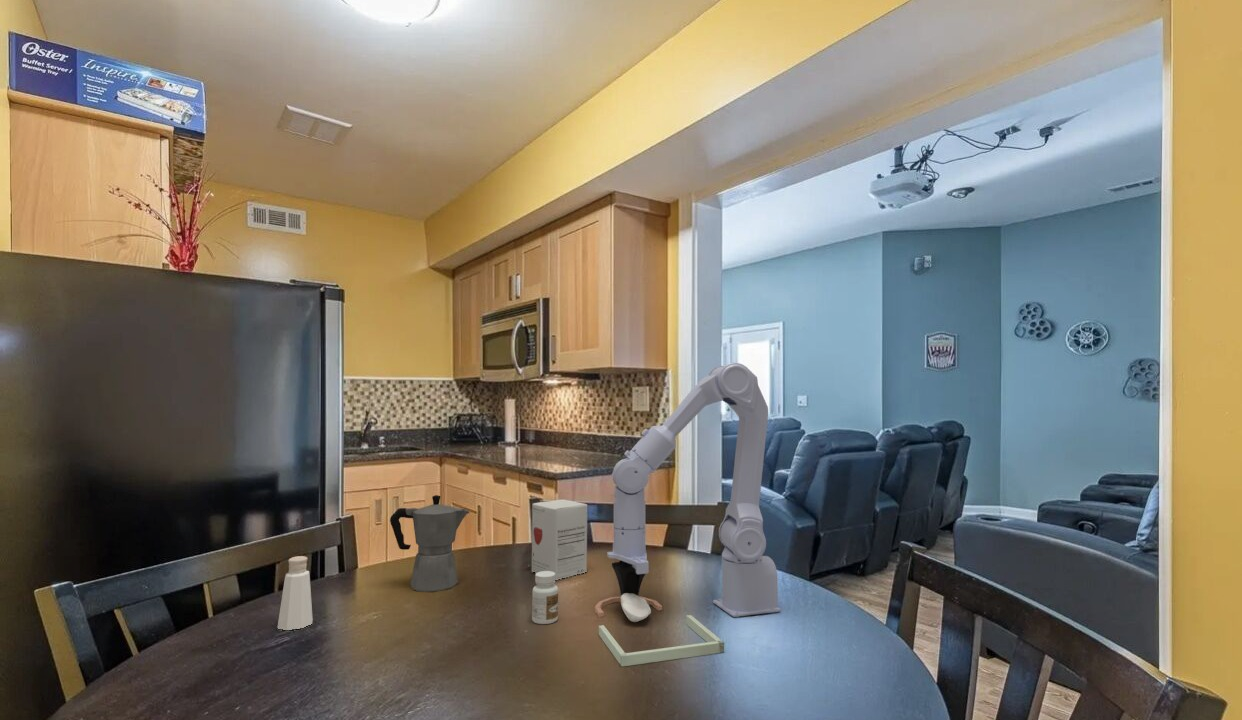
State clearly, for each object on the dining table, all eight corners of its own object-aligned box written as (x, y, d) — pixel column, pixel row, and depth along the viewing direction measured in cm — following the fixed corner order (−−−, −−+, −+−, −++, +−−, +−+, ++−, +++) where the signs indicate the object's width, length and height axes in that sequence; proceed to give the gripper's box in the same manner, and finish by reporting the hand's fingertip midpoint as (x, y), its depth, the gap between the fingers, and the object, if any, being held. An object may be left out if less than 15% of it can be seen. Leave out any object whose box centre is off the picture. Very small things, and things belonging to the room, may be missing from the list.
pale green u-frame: (690, 623, 99) (690, 614, 99) (724, 652, 88) (724, 642, 88) (598, 634, 94) (598, 625, 95) (621, 666, 83) (621, 656, 83)
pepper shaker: (318, 625, 98) (321, 557, 99) (282, 634, 94) (285, 563, 95) (306, 617, 102) (309, 551, 103) (271, 625, 98) (274, 557, 99)
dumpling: (620, 612, 104) (620, 589, 105) (650, 612, 104) (650, 589, 105) (620, 627, 97) (620, 603, 98) (652, 627, 97) (652, 603, 98)
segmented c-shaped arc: (647, 597, 113) (647, 593, 113) (661, 610, 106) (661, 605, 106) (588, 603, 109) (588, 599, 109) (599, 617, 102) (599, 612, 102)
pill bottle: (553, 625, 98) (553, 578, 99) (528, 623, 99) (528, 576, 100) (561, 616, 103) (561, 570, 103) (537, 614, 103) (537, 569, 104)
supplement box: (529, 572, 129) (530, 502, 130) (562, 564, 135) (563, 498, 136) (554, 581, 123) (555, 508, 124) (588, 573, 129) (588, 503, 130)
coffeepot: (468, 576, 126) (470, 491, 127) (467, 590, 117) (468, 497, 118) (392, 581, 123) (394, 493, 124) (384, 595, 114) (386, 500, 115)
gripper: (597, 520, 112) (597, 594, 111) (620, 536, 98) (620, 621, 97) (632, 518, 114) (632, 590, 113) (660, 534, 100) (660, 616, 99)
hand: (629, 604), depth 105 cm, fingers closed
